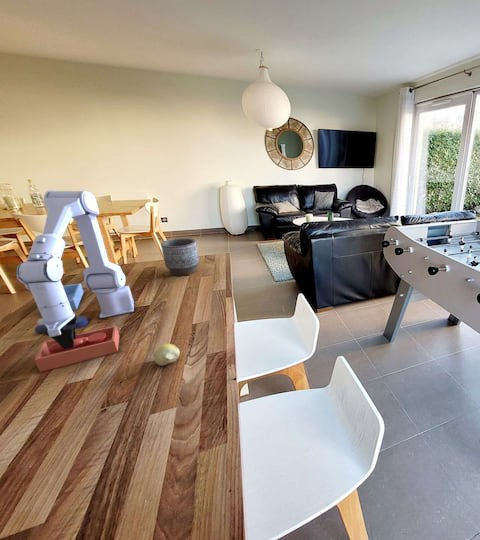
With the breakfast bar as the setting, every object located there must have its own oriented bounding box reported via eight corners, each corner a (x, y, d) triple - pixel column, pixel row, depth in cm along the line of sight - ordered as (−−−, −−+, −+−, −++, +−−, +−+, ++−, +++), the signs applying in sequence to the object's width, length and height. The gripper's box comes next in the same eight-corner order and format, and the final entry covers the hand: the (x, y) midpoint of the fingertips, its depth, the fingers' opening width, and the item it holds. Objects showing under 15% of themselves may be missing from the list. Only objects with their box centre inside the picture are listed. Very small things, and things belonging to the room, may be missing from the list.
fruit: (178, 346, 89) (185, 359, 81) (157, 359, 85) (163, 374, 78) (168, 332, 86) (174, 344, 79) (146, 345, 83) (150, 358, 76)
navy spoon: (34, 337, 89) (31, 330, 88) (38, 330, 93) (35, 323, 92) (87, 325, 96) (84, 319, 95) (88, 319, 99) (86, 313, 98)
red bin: (119, 336, 92) (116, 325, 90) (117, 351, 85) (114, 340, 83) (48, 353, 83) (43, 341, 82) (40, 372, 76) (34, 360, 75)
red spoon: (48, 358, 78) (44, 350, 77) (52, 349, 81) (48, 341, 80) (107, 343, 85) (104, 336, 84) (108, 336, 88) (105, 329, 87)
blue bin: (52, 297, 112) (48, 288, 110) (83, 292, 117) (80, 283, 115) (41, 316, 100) (36, 306, 98) (77, 309, 105) (73, 299, 103)
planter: (202, 273, 140) (197, 244, 134) (168, 279, 132) (161, 248, 126) (198, 264, 150) (193, 236, 145) (166, 268, 143) (160, 240, 137)
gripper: (39, 295, 80) (56, 335, 85) (22, 319, 69) (43, 364, 74) (73, 289, 83) (87, 328, 89) (63, 311, 73) (80, 355, 78)
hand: (70, 344), depth 82 cm, fingers closed on red spoon, 2 cm apart
